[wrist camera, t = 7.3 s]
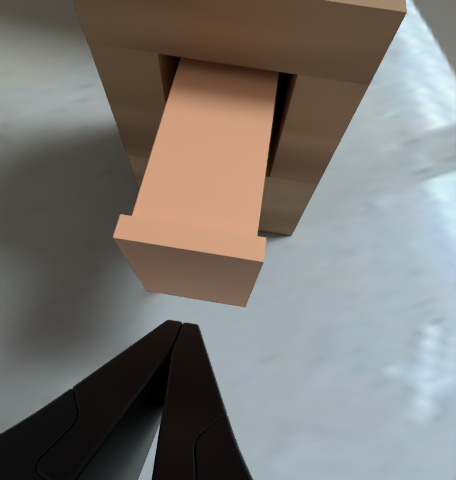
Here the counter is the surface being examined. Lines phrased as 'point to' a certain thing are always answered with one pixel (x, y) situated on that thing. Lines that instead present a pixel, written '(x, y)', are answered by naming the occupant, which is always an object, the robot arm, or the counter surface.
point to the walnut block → (248, 55)
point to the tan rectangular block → (204, 186)
